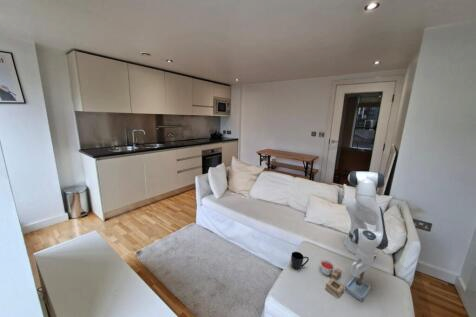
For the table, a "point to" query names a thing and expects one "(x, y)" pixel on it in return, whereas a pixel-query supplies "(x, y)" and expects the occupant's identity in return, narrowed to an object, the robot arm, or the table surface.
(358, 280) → the dowel
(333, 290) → the socket block
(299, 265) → the mug
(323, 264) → the candle
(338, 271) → the block
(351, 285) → the tray
